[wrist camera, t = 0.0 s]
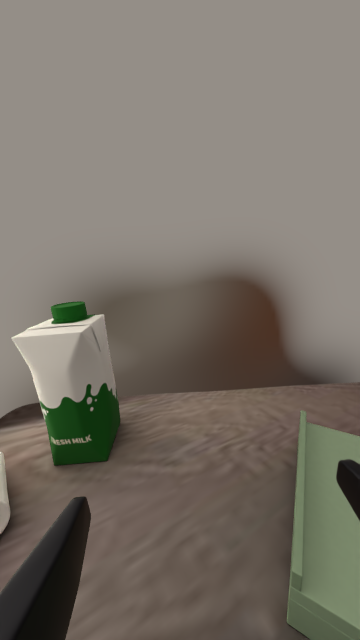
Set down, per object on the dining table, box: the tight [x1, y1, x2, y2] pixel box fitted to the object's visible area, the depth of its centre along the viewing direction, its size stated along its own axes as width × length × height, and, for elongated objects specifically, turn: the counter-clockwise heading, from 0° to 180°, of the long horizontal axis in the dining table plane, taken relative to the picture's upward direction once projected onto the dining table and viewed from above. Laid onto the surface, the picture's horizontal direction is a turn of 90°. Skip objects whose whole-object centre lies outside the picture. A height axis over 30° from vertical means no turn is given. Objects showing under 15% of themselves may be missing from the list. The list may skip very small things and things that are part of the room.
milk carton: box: [12, 302, 120, 465], centre depth 28 cm, size 9×9×20 cm
